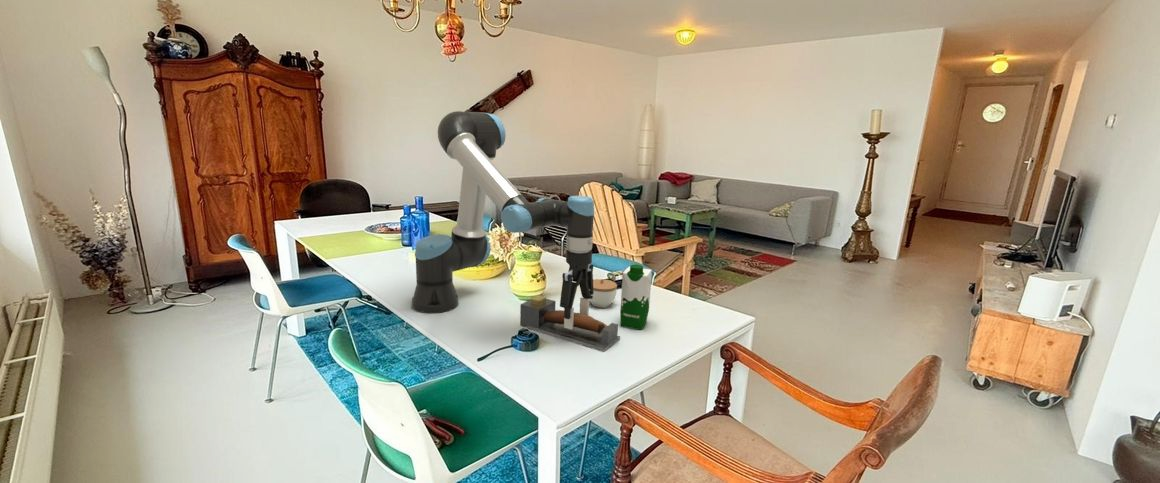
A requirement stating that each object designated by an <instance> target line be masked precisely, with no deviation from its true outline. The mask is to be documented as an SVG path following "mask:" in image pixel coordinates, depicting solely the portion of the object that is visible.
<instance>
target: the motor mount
mask: <svg viewBox="0 0 1160 483" xmlns="http://www.w3.org/2000/svg"><path fill="white" fill-rule="evenodd" d="M556 302H557V301H556V300H554V299H549V298H547V296H544V295H543V296H542V295H540V294H538V295H535V296H534V297H532V298H530V299H529V300H527V301H525V302H523V303H520V310H519V312H520V315H519V318H520V323H519V326H520V327H524V328H526V329H527V328H528V329H527V330H530V331H531V330H532V331H535V332H537V333H541V334H545V335H547V336H551V337H553V338H557V339H561V340H564V341H567V342H570V343H574V344H577V345H580V346H583V347H587V348H591V349H593V350H596V351H600V352H607V351H608V349H610V348H611V347H612V346H614V345H615V344H616V343H617V342H619V341H620V340H621V336H620V335H618V334H619V331H618V330H619V324H617V323H614V322H611V323H610V324H607V327H605V328H604V329H603V330H602V333H601V334H598V332H593V331H589V330H585V329H580V328H577V327H573V329H572V330H571V329H568V328H564V324H557V323H556V324H555V323H549V322H544V316H545V314H546V313H547V312H548V311H554V310H556Z"/></svg>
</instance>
